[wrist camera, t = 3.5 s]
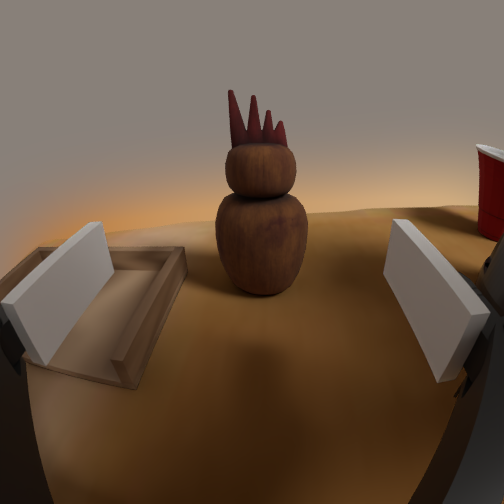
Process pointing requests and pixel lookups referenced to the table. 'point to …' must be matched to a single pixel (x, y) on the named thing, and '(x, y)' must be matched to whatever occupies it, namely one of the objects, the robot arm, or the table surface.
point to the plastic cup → (491, 192)
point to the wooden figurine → (260, 207)
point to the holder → (115, 314)
